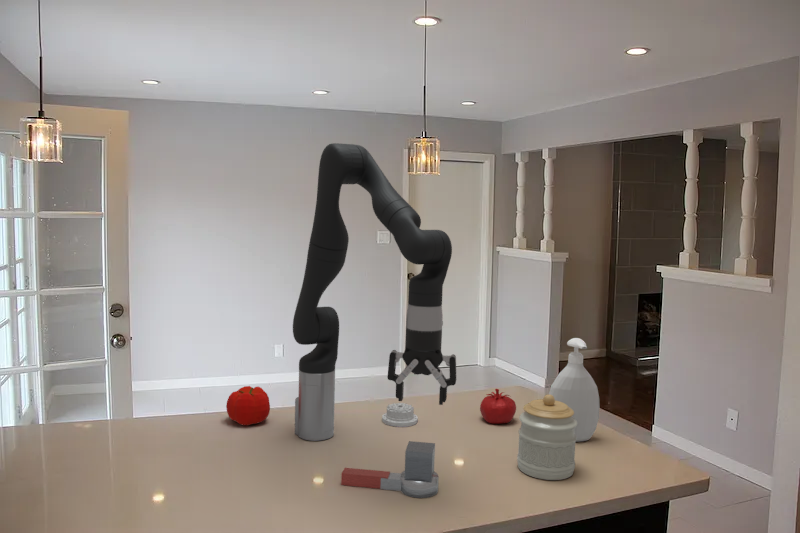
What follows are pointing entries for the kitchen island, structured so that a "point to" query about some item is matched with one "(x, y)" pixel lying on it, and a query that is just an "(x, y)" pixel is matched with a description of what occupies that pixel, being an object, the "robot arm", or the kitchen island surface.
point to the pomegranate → (497, 408)
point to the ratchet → (389, 482)
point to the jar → (547, 439)
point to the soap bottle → (578, 392)
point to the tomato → (248, 405)
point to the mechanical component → (400, 415)
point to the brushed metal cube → (419, 461)
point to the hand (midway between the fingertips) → (420, 402)
